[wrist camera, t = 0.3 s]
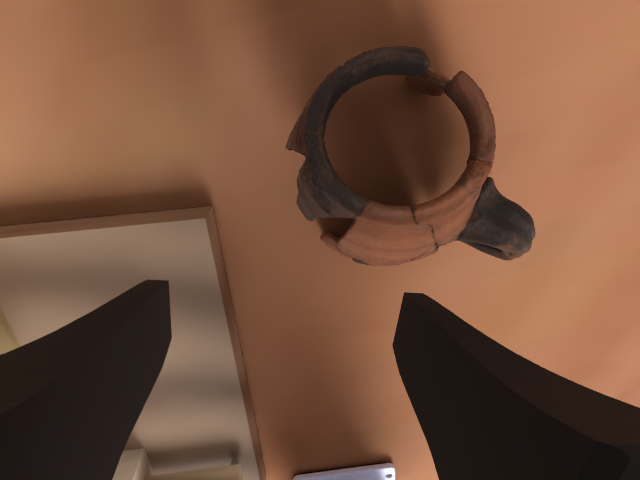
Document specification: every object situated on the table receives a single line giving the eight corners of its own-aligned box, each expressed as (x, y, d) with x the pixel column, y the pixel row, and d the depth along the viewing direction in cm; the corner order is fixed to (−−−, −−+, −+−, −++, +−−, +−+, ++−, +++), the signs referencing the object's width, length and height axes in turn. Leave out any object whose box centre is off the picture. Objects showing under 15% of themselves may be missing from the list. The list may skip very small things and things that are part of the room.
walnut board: (266, 476, 29) (263, 525, 25) (106, 497, 28) (83, 550, 25) (212, 205, 20) (198, 229, 17) (-20, 228, 19) (-81, 256, 16)
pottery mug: (270, 235, 22) (242, 203, 13) (329, 93, 23) (337, -16, 15) (465, 312, 21) (560, 327, 13) (516, 163, 22) (631, 91, 14)
